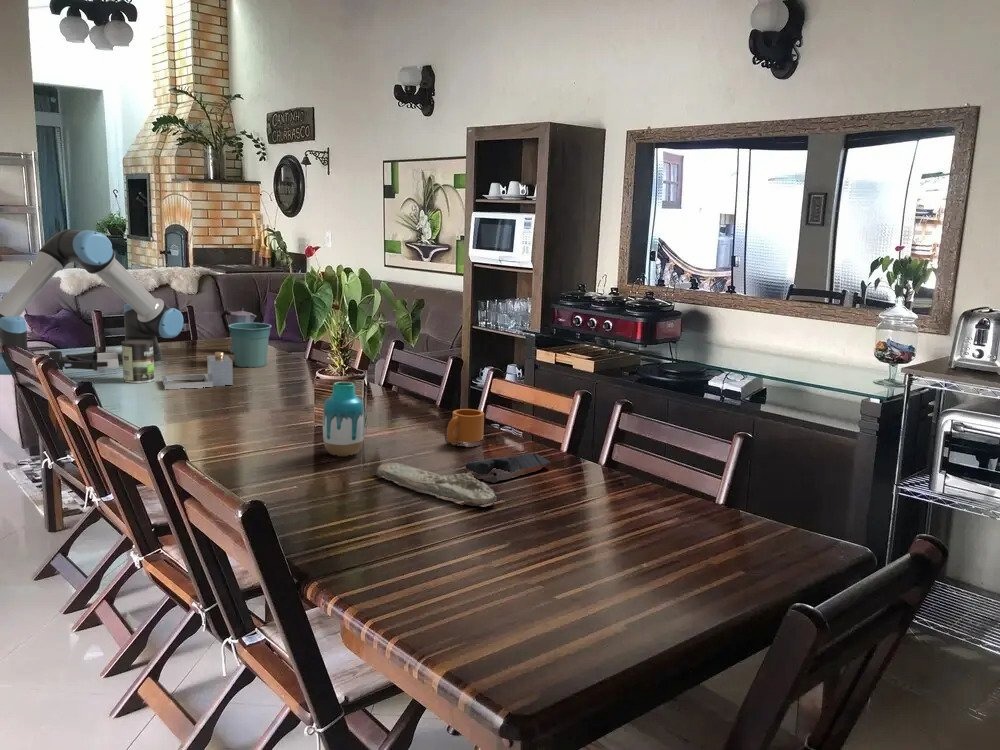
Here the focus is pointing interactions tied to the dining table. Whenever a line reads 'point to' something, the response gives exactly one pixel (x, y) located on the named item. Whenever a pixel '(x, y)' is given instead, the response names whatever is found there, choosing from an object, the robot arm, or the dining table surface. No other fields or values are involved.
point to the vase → (343, 421)
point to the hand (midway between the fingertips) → (118, 359)
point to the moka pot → (237, 320)
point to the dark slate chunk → (507, 463)
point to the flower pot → (250, 343)
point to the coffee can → (138, 361)
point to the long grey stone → (440, 483)
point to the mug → (466, 426)
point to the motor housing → (217, 374)
